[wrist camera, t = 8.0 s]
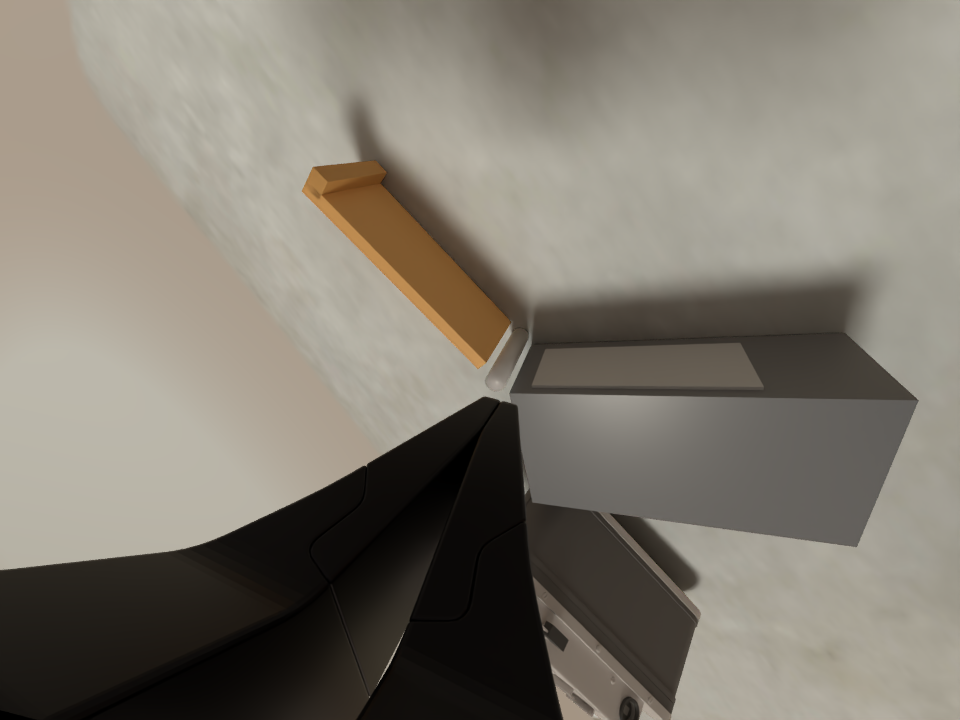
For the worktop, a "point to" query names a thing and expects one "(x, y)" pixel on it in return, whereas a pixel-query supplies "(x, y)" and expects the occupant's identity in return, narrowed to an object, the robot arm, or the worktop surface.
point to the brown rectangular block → (407, 255)
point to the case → (710, 430)
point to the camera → (607, 614)
